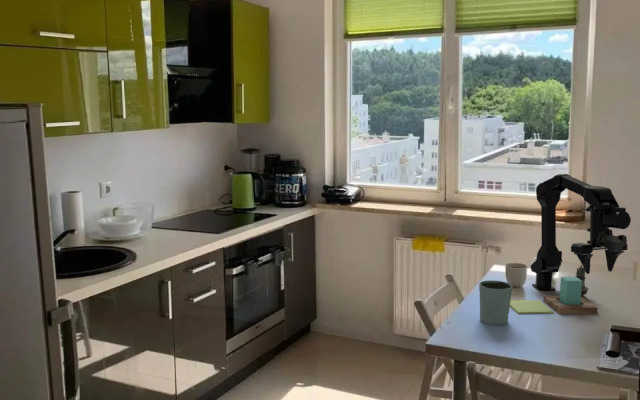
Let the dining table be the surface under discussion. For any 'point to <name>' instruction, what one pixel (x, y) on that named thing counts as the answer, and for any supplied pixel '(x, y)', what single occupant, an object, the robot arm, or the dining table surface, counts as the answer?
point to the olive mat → (529, 307)
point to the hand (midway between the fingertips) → (599, 272)
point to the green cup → (494, 302)
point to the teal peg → (570, 291)
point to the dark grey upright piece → (581, 275)
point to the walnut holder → (569, 306)
